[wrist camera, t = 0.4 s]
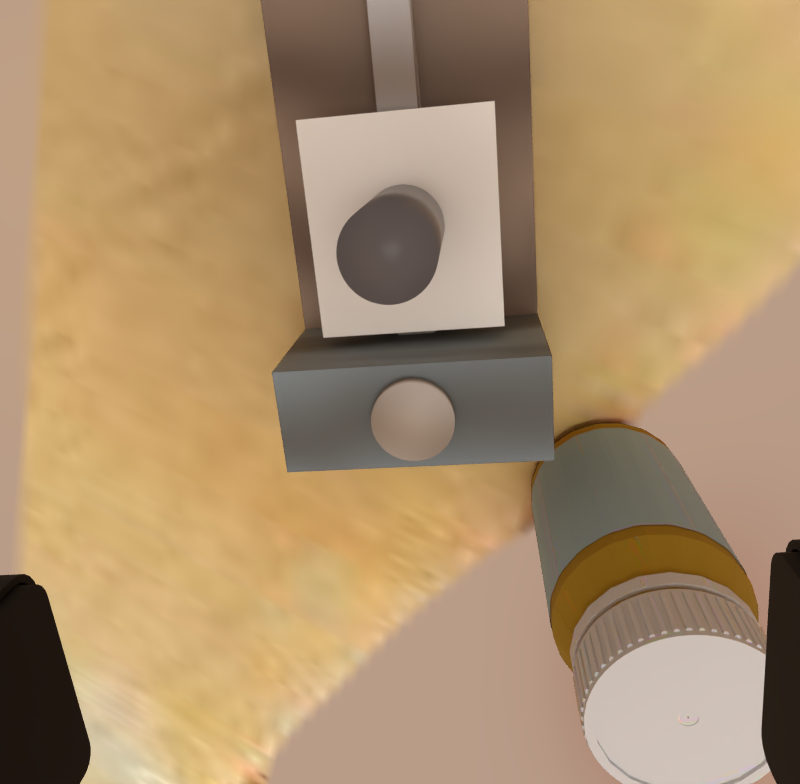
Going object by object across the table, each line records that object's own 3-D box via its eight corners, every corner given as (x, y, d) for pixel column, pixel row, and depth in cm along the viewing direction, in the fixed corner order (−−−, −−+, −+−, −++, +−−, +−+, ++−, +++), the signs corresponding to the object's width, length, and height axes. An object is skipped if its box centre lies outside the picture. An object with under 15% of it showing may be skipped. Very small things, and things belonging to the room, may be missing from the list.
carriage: (312, 119, 30) (249, 121, 21) (491, 102, 29) (501, 96, 20) (337, 317, 32) (289, 390, 24) (501, 306, 32) (513, 377, 23)
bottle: (511, 528, 37) (536, 777, 23) (556, 400, 35) (615, 592, 21) (647, 565, 37) (755, 835, 23) (702, 440, 35) (860, 658, 21)
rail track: (224, -346, 26) (126, -531, 19) (512, -395, 25) (531, -612, 18) (323, 402, 36) (283, 479, 28) (537, 390, 35) (556, 467, 27)
